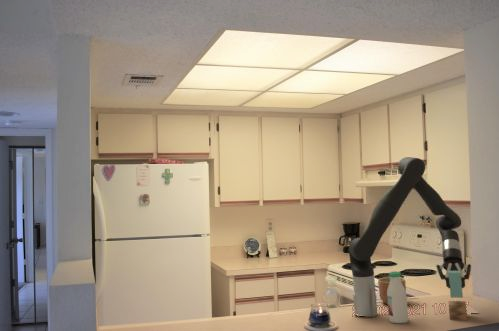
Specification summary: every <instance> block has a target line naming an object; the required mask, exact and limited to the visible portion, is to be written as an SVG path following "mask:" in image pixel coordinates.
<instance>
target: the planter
mask: <svg viewBox="0 0 499 331" xmlns="http://www.w3.org/2000/svg"><path fill="white" fill-rule="evenodd" d="M400 280H401V282H402V285H403V286H404V288H405V291H406V292H407V290H406V289H407V288H406V287H407V286H406V284H407V282H406V279H405V278H403V277H401V278H400ZM389 283H390V278H389V276H387V277H380V278H379V279H377V285H378V291H379V292H378V293H379V294H378V295H379V298H380V300H381V302H383V303H384V304H386V305H388V301H387V289H388V286H389Z"/></svg>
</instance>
